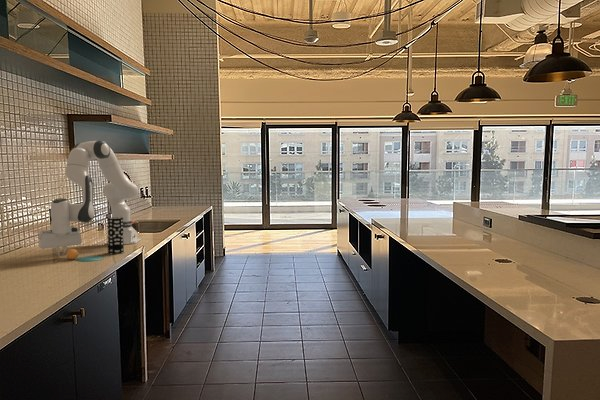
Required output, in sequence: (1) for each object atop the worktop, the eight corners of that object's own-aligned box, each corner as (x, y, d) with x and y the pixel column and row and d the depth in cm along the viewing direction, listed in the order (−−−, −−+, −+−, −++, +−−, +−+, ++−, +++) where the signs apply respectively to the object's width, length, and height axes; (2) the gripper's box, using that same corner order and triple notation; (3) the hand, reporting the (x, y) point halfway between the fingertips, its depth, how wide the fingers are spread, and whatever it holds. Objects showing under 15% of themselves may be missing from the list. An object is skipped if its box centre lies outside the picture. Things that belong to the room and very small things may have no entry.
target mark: (85, 256, 243) (85, 255, 243) (107, 256, 242) (107, 256, 242) (70, 261, 230) (70, 260, 230) (94, 261, 229) (94, 261, 229)
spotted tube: (117, 254, 248) (117, 219, 247) (104, 253, 250) (104, 218, 248) (126, 251, 256) (126, 217, 255) (113, 251, 258) (113, 216, 257)
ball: (81, 253, 234) (77, 261, 236) (76, 246, 237) (73, 254, 238) (71, 254, 229) (67, 262, 231) (66, 247, 232) (63, 255, 234)
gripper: (40, 231, 227) (41, 258, 228) (82, 228, 241) (83, 253, 242) (36, 230, 231) (37, 256, 232) (78, 227, 245) (79, 251, 246)
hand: (61, 254), depth 237 cm, fingers closed
